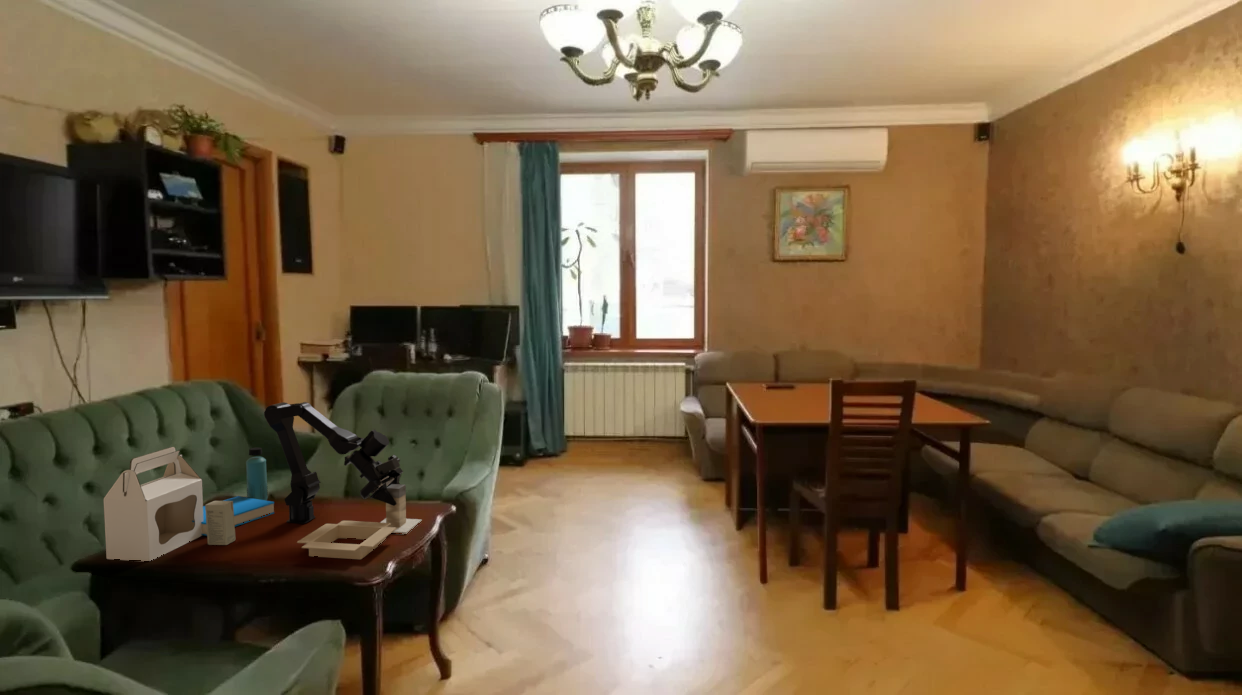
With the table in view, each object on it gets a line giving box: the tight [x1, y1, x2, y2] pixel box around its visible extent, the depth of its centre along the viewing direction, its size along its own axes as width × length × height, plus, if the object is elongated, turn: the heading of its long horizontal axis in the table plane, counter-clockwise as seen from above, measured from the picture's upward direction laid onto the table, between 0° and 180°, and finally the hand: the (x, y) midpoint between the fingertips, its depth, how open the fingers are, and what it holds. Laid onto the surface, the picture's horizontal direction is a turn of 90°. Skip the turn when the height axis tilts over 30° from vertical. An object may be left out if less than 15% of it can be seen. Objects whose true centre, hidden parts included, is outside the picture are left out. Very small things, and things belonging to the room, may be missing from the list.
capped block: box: [385, 484, 407, 527], centre depth 225 cm, size 4×4×12 cm
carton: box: [296, 520, 397, 560], centre depth 208 cm, size 23×23×4 cm
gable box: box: [103, 446, 204, 562], centre depth 206 cm, size 22×13×28 cm, turn 173°
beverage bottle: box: [245, 447, 269, 501], centre depth 246 cm, size 6×7×20 cm
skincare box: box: [204, 500, 236, 546], centre depth 210 cm, size 6×4×12 cm
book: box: [192, 495, 275, 537], centre depth 229 cm, size 17×4×25 cm
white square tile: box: [379, 517, 423, 535], centre depth 226 cm, size 12×12×1 cm
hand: (400, 501), depth 225 cm, fingers open, 6 cm apart
